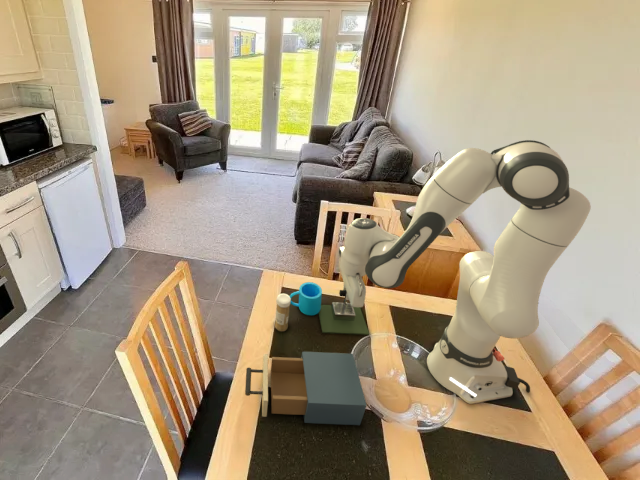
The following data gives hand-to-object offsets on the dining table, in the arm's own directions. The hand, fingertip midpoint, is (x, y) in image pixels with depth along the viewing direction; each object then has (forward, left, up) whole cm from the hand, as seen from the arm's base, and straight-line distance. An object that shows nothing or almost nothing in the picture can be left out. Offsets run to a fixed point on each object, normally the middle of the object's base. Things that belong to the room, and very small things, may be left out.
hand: (346, 295), depth 107 cm
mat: (0, 0, -12) cm, 12 cm away
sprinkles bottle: (+22, +4, -12) cm, 25 cm away
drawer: (+24, +27, -11) cm, 38 cm away
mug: (+13, -5, -12) cm, 18 cm away
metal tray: (0, 0, -9) cm, 9 cm away
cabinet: (+10, +27, -12) cm, 31 cm away
